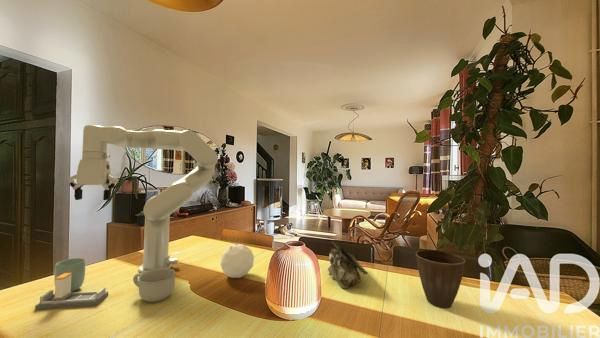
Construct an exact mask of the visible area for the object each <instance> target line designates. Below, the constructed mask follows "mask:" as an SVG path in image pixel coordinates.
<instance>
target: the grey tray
mask: <svg viewBox="0 0 600 338" xmlns="http://www.w3.org/2000/svg"><path fill="white" fill-rule="evenodd" d="M106 289H107V288H106V287H102V288H100V289H98V290H96V291H95V290H93V291H73V292H72V295H71V296H69V297H68V298H66V299H65V300H59V301H53V298H54V297H55V293H54V292H55V289H54V290H53V289H52V290H48V291H47V292H45V293H43V294H42V295H40V297H39V303H37V304H35V306H34V310H37V311H38V310H40V311H41V310H52V309H67V308H68V309H69V308H83V307H96V306H97V305H99V304H100V303H101V302H102V301H103V300H104V299H106V298H107V297H108V296H109V291H107V290H106Z"/></svg>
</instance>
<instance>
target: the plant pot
mask: <svg viewBox="0 0 600 338" xmlns="http://www.w3.org/2000/svg"><path fill="white" fill-rule="evenodd" d="M415 257H416V264H417V269H418V275H419V279H420V283H421V286H422V287H421V288H422V290H423V292H424V293H423V294H424V295H425V298H426V300H427V302H428V303H429V304H430V305H432V306H435V308H436V307H437V308H440V309H449V308H451V307H452V306H453V305H454V304H453V303H454V302H455V300H456V298H457V294H458V292H459V290H460V288H461V287H460V286H461V283H462V280H463V275H464V270H465V264H466V259H464V258H463V257H462V256H459V255H457V254H454V253H451V252H447V251H442V250H436V249H432V250H431V249H423V250H417V251H416V252H415Z"/></svg>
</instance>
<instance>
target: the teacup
mask: <svg viewBox="0 0 600 338" xmlns="http://www.w3.org/2000/svg"><path fill="white" fill-rule="evenodd" d="M175 280H176V270H174V269H173V268H159V269H154V270H150V271H147V272H145V273H141V272H137V273H136V274H135V275H133V279H132V281H133V284H134V286H136V287H137V288H138V295H139V297H140V298H141V300H143V301H145V302H147V303H157V302H162V301H164V300H166V299H167V298H168V297H169V296H170V295H171V294H172V293H173V291H174V289H175V283H176V281H175Z"/></svg>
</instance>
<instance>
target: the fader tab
mask: <svg viewBox="0 0 600 338" xmlns="http://www.w3.org/2000/svg"><path fill="white" fill-rule="evenodd" d="M71 275H72V273H64V274H62V275H60V276H58V277H56V278H55V280H56V281H55V282H54V294H55V297H54V298H53V301H59V300H65V299H66V298H68V297H69V296H71V295H72V292H71Z"/></svg>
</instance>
